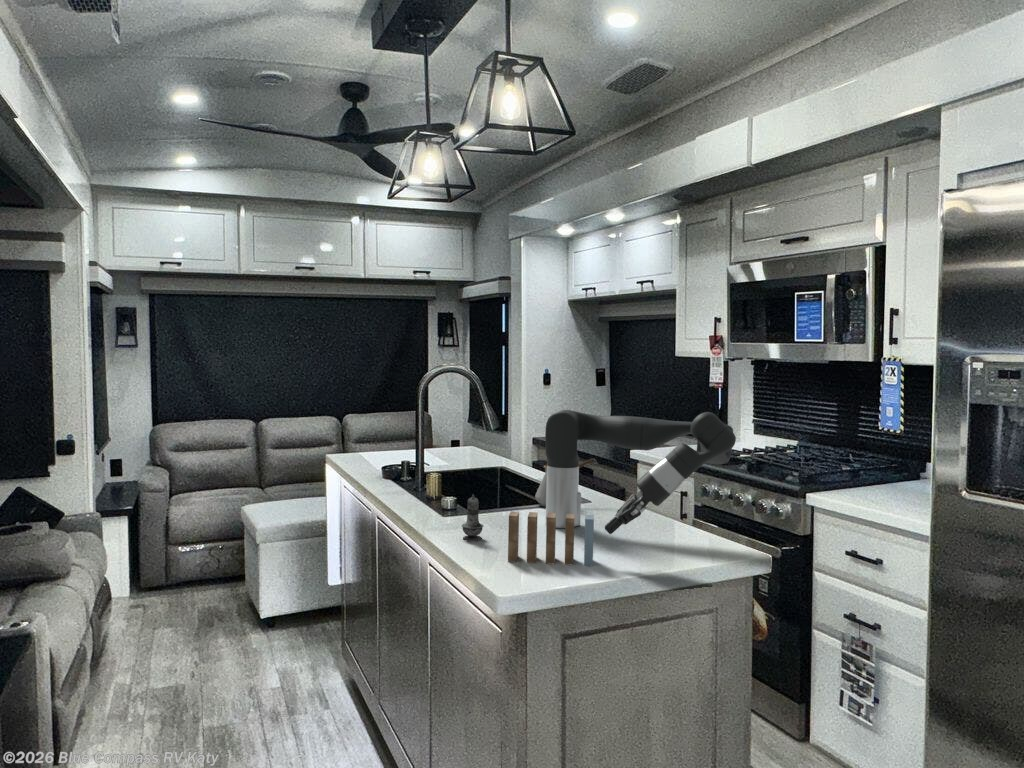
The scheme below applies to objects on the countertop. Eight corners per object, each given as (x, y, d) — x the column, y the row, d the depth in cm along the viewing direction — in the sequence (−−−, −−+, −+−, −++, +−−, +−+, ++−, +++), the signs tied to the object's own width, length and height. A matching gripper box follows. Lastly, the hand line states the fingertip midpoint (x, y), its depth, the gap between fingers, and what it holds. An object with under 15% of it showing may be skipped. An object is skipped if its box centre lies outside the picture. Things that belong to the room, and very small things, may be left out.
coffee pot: (543, 510, 235) (545, 463, 234) (529, 502, 245) (530, 457, 244) (603, 506, 243) (604, 460, 242) (586, 499, 253) (587, 455, 253)
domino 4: (573, 558, 180) (574, 513, 180) (573, 564, 175) (574, 518, 175) (565, 558, 180) (566, 513, 180) (564, 564, 175) (565, 518, 175)
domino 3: (555, 557, 181) (556, 513, 180) (554, 563, 176) (555, 517, 175) (546, 557, 181) (547, 512, 180) (545, 563, 176) (546, 517, 175)
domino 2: (536, 557, 181) (537, 512, 180) (535, 562, 176) (536, 517, 176) (528, 556, 181) (529, 512, 181) (526, 562, 176) (527, 516, 176)
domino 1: (518, 556, 181) (519, 511, 181) (516, 561, 176) (517, 516, 176) (510, 555, 182) (510, 511, 181) (507, 561, 177) (508, 515, 176)
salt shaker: (461, 536, 200) (461, 491, 199) (482, 536, 200) (483, 492, 200) (461, 541, 194) (462, 496, 193) (483, 541, 195) (484, 496, 194)
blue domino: (592, 559, 180) (593, 514, 179) (592, 565, 175) (593, 519, 174) (584, 559, 180) (585, 514, 179) (584, 565, 175) (585, 519, 174)
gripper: (675, 498, 168) (619, 549, 170) (668, 488, 181) (616, 535, 183) (652, 474, 168) (596, 525, 170) (647, 465, 181) (595, 513, 183)
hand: (607, 530), depth 176 cm, fingers closed
